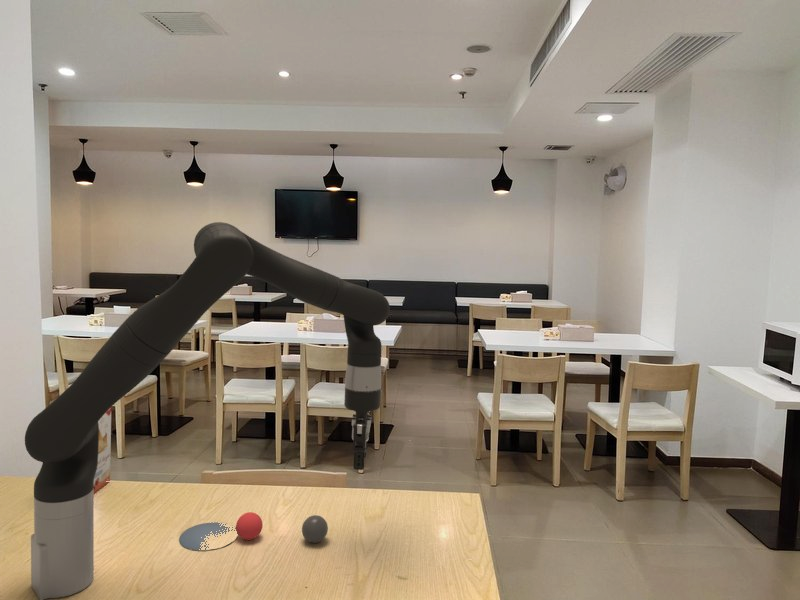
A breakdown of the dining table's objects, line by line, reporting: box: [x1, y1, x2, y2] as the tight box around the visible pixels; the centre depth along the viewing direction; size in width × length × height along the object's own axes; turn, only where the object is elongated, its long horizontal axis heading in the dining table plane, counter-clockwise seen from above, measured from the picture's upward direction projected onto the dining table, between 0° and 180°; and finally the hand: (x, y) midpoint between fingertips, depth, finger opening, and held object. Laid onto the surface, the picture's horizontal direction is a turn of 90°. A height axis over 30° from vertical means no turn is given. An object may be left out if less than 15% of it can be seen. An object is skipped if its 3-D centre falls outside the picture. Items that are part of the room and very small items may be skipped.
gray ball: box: [301, 514, 329, 543], centre depth 124 cm, size 6×6×6 cm
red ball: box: [235, 511, 264, 541], centre depth 124 cm, size 6×6×6 cm
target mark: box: [178, 521, 236, 551], centre depth 125 cm, size 12×12×1 cm
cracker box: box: [94, 407, 112, 494], centre depth 142 cm, size 14×6×21 cm, turn 179°
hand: (359, 462), depth 123 cm, fingers open, 6 cm apart
